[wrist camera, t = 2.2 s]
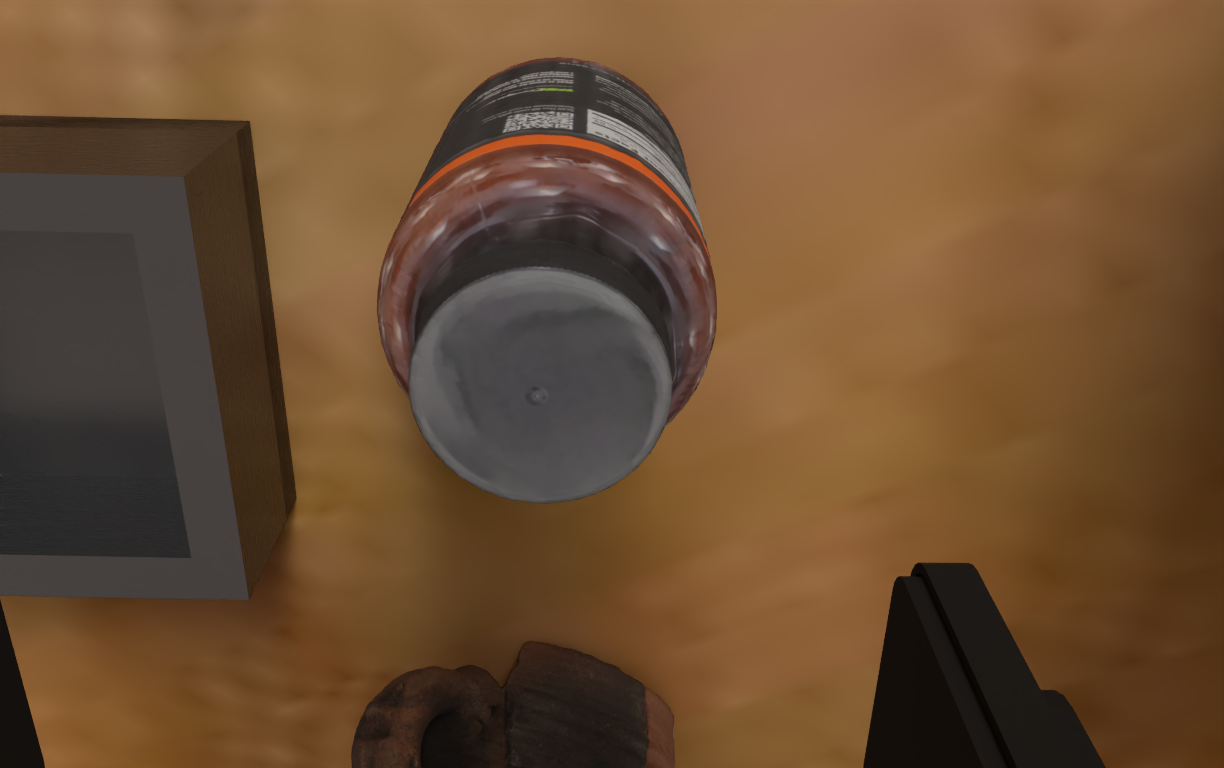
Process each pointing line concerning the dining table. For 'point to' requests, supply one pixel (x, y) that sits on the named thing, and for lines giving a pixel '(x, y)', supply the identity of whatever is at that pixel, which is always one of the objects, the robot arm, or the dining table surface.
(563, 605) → the dining table surface
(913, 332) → the dining table surface
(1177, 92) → the dining table surface
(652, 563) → the dining table surface
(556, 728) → the pottery mug
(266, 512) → the can holder
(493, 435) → the supplement bottle
